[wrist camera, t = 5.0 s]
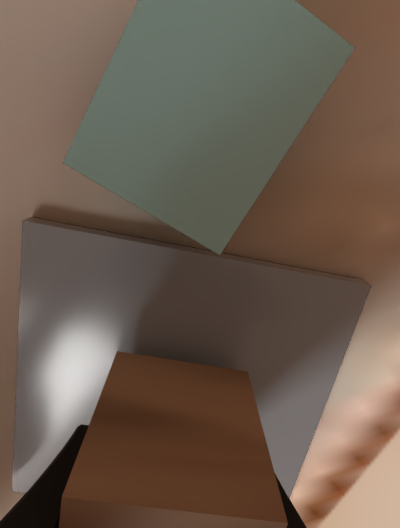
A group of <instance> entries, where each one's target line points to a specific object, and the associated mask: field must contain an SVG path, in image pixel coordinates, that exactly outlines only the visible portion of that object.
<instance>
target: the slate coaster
mask: <svg viewBox="0 0 400 528" xmlns="http://www.w3.org/2000/svg"><path fill="white" fill-rule="evenodd" d="M370 288H371V285H370V284H368V283H367V282H365V281H364V280H362V279H356V278H351V277H346V276H340V275H335V274H330V273H324V272H319V271H314V270H309V269H303V268H298V267H293V266H287V265H282V264H277V263H271V262H266V261H261V260H255V259H250V258H245V257H239V256H234V255H229V254H223V253H221V254H220V255H219V254H217V253H215V252H213V251H207V250H202V249H197V248H192V247H186V246H181V245H176V244H170V243H165V242H160V241H154V240H149V239H144V238H138V237H133V236H128V235H122V234H117V233H112V232H106V231H101V230H96V229H91V228H85V227H80V226H75V225H69V224H64V223H59V222H53V221H48V220H43V219H37V218H32V217H31V218H28V219H25V220H23V222H22V248H21V274H20V300H19V326H18V352H17V377H16V403H15V429H14V455H13V481H12V492H20V493H27V491H28V490H29V489H30V488H31V487H32V486H33V484H34V483H35V482H36V481H37V480H38V478H39V477H40V476H41V475H42V474H43V472H44V471H45V470H46V469H47V468H48V466H49V465H50V464H51V463H52V461H53V460H54V459H55V457H56V456H57V455H58V454H59V452H60V451H61V450H62V448H63V447H64V446H65V444H66V443H67V442H68V440H69V439H70V437H71V436H72V434H73V433H74V431H75V430H76V428H77V427H78V426H80V425H81V424H83V425H89V424H90V421H91V419H92V416H93V413H94V411H95V408H96V405H97V403H98V400H99V398H100V395H101V392H102V390H103V387H104V384H105V382H106V379H107V376H108V374H109V371H110V369H111V366H112V363H113V361H114V358H115V355H116V353H117V351H119V352H126V353H132V354H139V355H145V356H151V357H158V358H164V359H171V360H177V361H184V362H190V363H196V364H203V365H209V366H216V367H222V368H229V369H235V370H241V371H248V375H249V378H250V382H251V386H252V390H253V393H254V397H255V401H256V405H257V408H258V412H259V416H260V420H261V424H262V427H263V431H264V435H265V439H266V442H267V446H268V450H269V454H270V458H271V461H272V465H273V469H274V472H275V474H276V476H277V478H278V480H279V481H280V483H281V485H282V487H283V489H284V490H285V492H286V494H287V496H288V497H289V498H290V495H291V493H292V490H293V488H294V485H295V482H296V480H297V477H298V475H299V472H300V469H301V467H302V464H303V462H304V459H305V456H306V454H307V451H308V449H309V446H310V443H311V441H312V438H313V436H314V433H315V430H316V428H317V425H318V423H319V420H320V418H321V415H322V412H323V410H324V407H325V405H326V402H327V399H328V397H329V394H330V392H331V389H332V386H333V384H334V381H335V379H336V376H337V373H338V371H339V368H340V366H341V363H342V360H343V358H344V355H345V353H346V350H347V348H348V345H349V342H350V340H351V337H352V335H353V332H354V329H355V327H356V324H357V322H358V319H359V316H360V314H361V311H362V309H363V306H364V303H365V301H366V298H367V296H368V293H369V291H370Z"/></svg>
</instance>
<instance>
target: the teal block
mask: <svg viewBox="0 0 400 528" xmlns="http://www.w3.org/2000/svg"><path fill="white" fill-rule="evenodd" d="M354 48H355V47H354V46H352V45H351V44H350V43H349V42H347V41H346V40H345V39H344V38H342V37H341V36H340V35H338V34H337V33H336V32H335V31H333V30H332V29H331V28H330V27H328V26H327V25H326V24H325V23H323V22H322V21H321V20H319V19H318V18H317V17H316V16H314V15H313V14H312V13H311V12H309V11H308V10H307V9H305V8H304V7H303V6H302V5H300V4H299V3H298V2H297V1H295V0H138V2H137V5H136V7H135V9H134V11H133V13H132V15H131V17H130V20H129V22H128V24H127V26H126V28H125V30H124V32H123V35H122V37H121V39H120V41H119V43H118V45H117V47H116V50H115V52H114V54H113V56H112V58H111V60H110V62H109V65H108V67H107V69H106V71H105V73H104V75H103V77H102V80H101V82H100V84H99V86H98V88H97V90H96V92H95V95H94V97H93V99H92V101H91V103H90V105H89V107H88V110H87V112H86V114H85V116H84V118H83V120H82V122H81V125H80V127H79V129H78V131H77V133H76V135H75V137H74V140H73V142H72V144H71V146H70V148H69V150H68V152H67V155H66V157H65V159H64V161H63V164H65V165H67V166H69V167H70V168H72V169H74V170H75V171H77V172H79V173H80V174H82V175H84V176H86V177H87V178H89V179H91V180H92V181H94V182H96V183H98V184H99V185H101V186H103V187H104V188H106V189H108V190H109V191H111V192H113V193H115V194H116V195H118V196H120V197H121V198H123V199H125V200H127V201H128V202H130V203H132V204H133V205H135V206H137V207H139V208H140V209H142V210H144V211H145V212H147V213H149V214H150V215H152V216H154V217H156V218H157V219H159V220H161V221H162V222H164V223H166V224H168V225H169V226H171V227H173V228H174V229H176V230H178V231H179V232H181V233H183V234H185V235H186V236H188V237H190V238H191V239H193V240H195V241H197V242H198V243H200V244H202V245H203V246H205V247H207V248H208V249H210V250H212V251H214V252H215V253H217V254H219V255H220V254H221V253H222V251H223V249H224V248H225V246H226V245H227V243H228V242H229V240H230V239H231V237H232V236H233V234H234V233H235V231H236V230H237V228H238V226H239V225H240V223H241V222H242V220H243V219H244V217H245V216H246V214H247V213H248V211H249V210H250V208H251V207H252V205H253V203H254V202H255V200H256V199H257V197H258V196H259V194H260V193H261V191H262V190H263V188H264V187H265V185H266V183H267V182H268V180H269V179H270V177H271V176H272V174H273V173H274V171H275V170H276V168H277V167H278V165H279V164H280V162H281V160H282V159H283V157H284V156H285V154H286V153H287V151H288V150H289V148H290V147H291V145H292V144H293V142H294V141H295V139H296V137H297V136H298V134H299V133H300V131H301V130H302V128H303V127H304V125H305V124H306V122H307V121H308V119H309V118H310V116H311V114H312V113H313V111H314V110H315V108H316V107H317V105H318V104H319V102H320V101H321V99H322V98H323V96H324V95H325V93H326V91H327V90H328V88H329V87H330V85H331V84H332V82H333V81H334V79H335V78H336V76H337V75H338V73H339V71H340V70H341V68H342V67H343V65H344V64H345V62H346V61H347V59H348V58H349V56H350V55H351V53H352V52H353V50H354Z"/></svg>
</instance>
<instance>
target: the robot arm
mask: <svg viewBox="0 0 400 528" xmlns="http://www.w3.org/2000/svg"><path fill="white" fill-rule="evenodd" d="M88 426H89V425H83V424H81V425H80V426H78V427H77V428H76V430H75V431H74V433H73V434H72V436H71V437H70V439H69V440H68V442H67V443H66V444H65V446H64V447H63V448H62V450H61V451H60V452H59V454H58V455H57V456H56V457H55V459H54V460H53V461H52V463H51V464H50V465H49V466H48V468H47V469H46V470H45V471H44V472H43V474H42V475H41V476H40V477H39V478H38V480H37V481H36V482H35V483H34V484H33V486H32V487H31V488H30V489H29V490H28V491H27V493H26V494H25V495H24V496H23V497H22V498H21V499H20V500H19V501H18V502H17V504H16V505H15V506H14V507H13V508H12V509H11V510H10V511H9V512H8V513H7V515H6V516H5V517H4V518H3V519H2V520H1V521H0V528H59V520H60V510H61V500H62V495H63V492H64V490H65V487H66V484H67V482H68V479H69V477H70V474H71V471H72V469H73V466H74V463H75V461H76V458H77V455H78V453H79V450H80V448H81V445H82V442H83V440H84V437H85V434H86V432H87V429H88ZM274 473H275V472H274ZM275 476H276V474H275ZM276 480H277V484H278V488H279V491H280V495H281V499H282V503H283V507H284V510H285V514H286V518H287V522H288V525H287V527H286V528H306V526H305V524H304V523H303V521H302V519H301V518H300V516H299V514H298V513H297V511H296V509H295V508H294V506H293V504H292V503H291V501H290V499H289V497H288V496H287V494H286V492H285V490H284V489H283V487H282V485H281V483H280V481H279V480H278V478H277V476H276Z"/></svg>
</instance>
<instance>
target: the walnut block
mask: <svg viewBox="0 0 400 528" xmlns="http://www.w3.org/2000/svg"><path fill="white" fill-rule="evenodd" d="M287 525H288V522H287V518H286V514H285V510H284V507H283V503H282V499H281V495H280V491H279V488H278V484H277V480H276V476H275V473H274V469H273V465H272V461H271V458H270V454H269V450H268V446H267V442H266V439H265V435H264V431H263V427H262V424H261V420H260V416H259V412H258V408H257V405H256V401H255V397H254V393H253V390H252V386H251V382H250V378H249V375H248V371H241V370H235V369H229V368H222V367H216V366H209V365H203V364H196V363H190V362H184V361H177V360H171V359H164V358H158V357H151V356H145V355H139V354H132V353H126V352H119V351H117V353H116V355H115V358H114V361H113V363H112V366H111V369H110V371H109V374H108V376H107V379H106V382H105V384H104V387H103V390H102V392H101V395H100V398H99V400H98V403H97V405H96V408H95V411H94V413H93V416H92V419H91V421H90V424H89V426H88V429H87V432H86V434H85V437H84V440H83V442H82V445H81V448H80V450H79V453H78V455H77V458H76V461H75V463H74V466H73V469H72V471H71V474H70V477H69V479H68V482H67V484H66V487H65V490H64V492H63V495H62V500H61V510H60V520H59V528H286V527H287Z"/></svg>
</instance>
